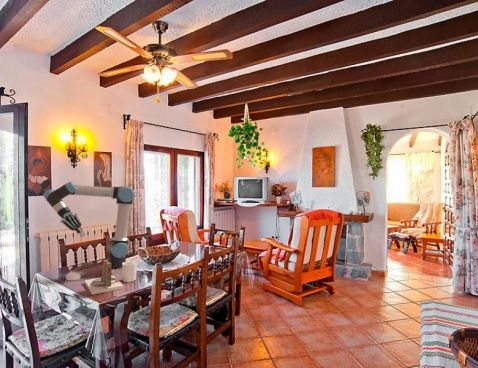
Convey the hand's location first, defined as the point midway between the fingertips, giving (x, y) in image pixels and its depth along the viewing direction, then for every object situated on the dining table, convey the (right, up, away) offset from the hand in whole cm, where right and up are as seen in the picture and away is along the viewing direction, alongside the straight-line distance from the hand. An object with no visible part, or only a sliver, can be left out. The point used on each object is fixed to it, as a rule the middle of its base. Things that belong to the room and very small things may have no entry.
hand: (83, 235), depth 201 cm
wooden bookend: (+22, -28, -16) cm, 39 cm away
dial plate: (+20, -30, -14) cm, 39 cm away
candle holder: (+33, -31, -2) cm, 45 cm away
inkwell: (-3, -30, +2) cm, 30 cm away
